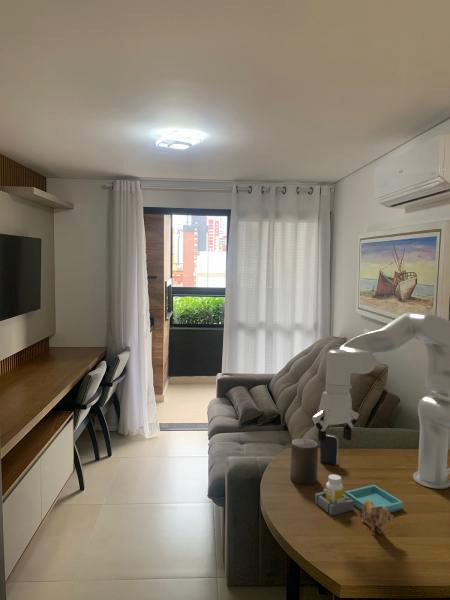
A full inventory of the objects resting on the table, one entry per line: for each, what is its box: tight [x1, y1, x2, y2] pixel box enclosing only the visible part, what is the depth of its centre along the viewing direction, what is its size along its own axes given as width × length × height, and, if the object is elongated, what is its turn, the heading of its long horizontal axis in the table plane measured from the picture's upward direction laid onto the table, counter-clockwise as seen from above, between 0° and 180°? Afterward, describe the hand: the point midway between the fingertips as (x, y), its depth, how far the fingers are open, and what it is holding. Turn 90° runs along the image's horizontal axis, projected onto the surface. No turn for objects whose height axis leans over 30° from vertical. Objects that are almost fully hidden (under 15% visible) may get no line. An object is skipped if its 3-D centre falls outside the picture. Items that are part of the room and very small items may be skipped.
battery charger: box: [319, 433, 340, 466], centre depth 180 cm, size 7×4×11 cm, turn 61°
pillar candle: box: [289, 438, 319, 486], centre depth 165 cm, size 10×10×15 cm
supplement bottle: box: [325, 473, 344, 504], centre depth 146 cm, size 5×5×10 cm
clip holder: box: [314, 488, 355, 517], centre depth 146 cm, size 9×9×4 cm
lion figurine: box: [358, 500, 394, 536], centre depth 134 cm, size 15×5×9 cm, turn 15°
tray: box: [344, 484, 404, 515], centre depth 148 cm, size 13×13×2 cm
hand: (334, 440), depth 145 cm, fingers open, 9 cm apart
